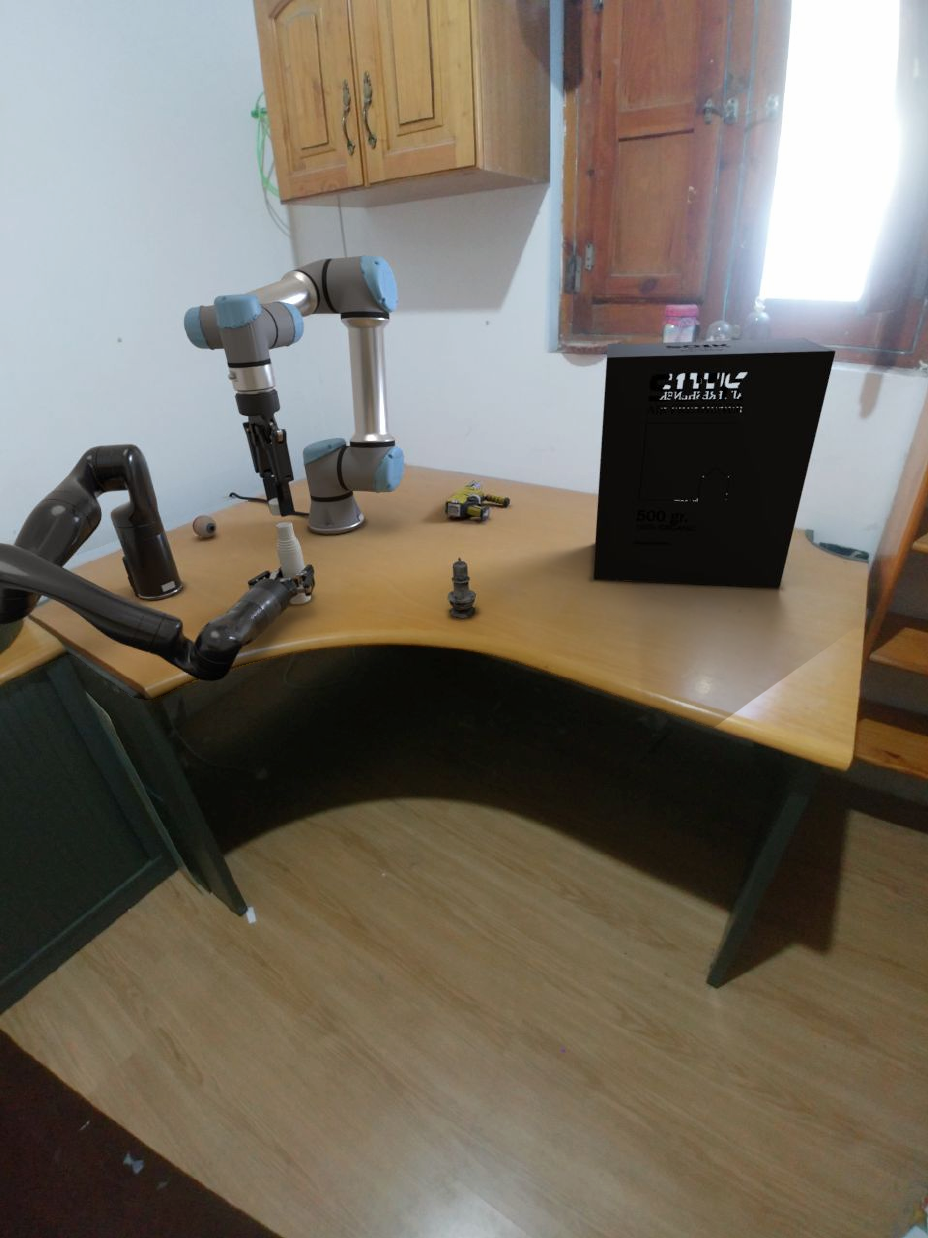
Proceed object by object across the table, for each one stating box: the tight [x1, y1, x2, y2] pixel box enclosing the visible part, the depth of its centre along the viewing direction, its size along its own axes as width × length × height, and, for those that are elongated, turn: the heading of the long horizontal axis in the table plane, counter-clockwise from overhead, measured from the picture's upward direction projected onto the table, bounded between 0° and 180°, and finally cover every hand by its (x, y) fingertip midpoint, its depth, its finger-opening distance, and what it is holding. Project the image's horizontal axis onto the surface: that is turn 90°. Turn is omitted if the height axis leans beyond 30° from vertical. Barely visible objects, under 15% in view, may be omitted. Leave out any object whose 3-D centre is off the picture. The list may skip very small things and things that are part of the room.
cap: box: [267, 498, 281, 517], centre depth 121 cm, size 4×4×2 cm
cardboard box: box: [592, 337, 836, 589], centre depth 125 cm, size 38×20×45 cm, turn 78°
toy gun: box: [444, 480, 511, 521], centre depth 175 cm, size 5×24×15 cm
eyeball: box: [192, 514, 217, 538], centre depth 165 cm, size 6×6×6 cm
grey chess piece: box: [446, 556, 477, 619], centre depth 120 cm, size 6×6×12 cm
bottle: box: [275, 521, 312, 605], centre depth 127 cm, size 5×5×17 cm
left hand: (299, 567), depth 130 cm, fingers closed on bottle, 4 cm apart
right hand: (282, 511), depth 122 cm, fingers closed on cap, 4 cm apart
